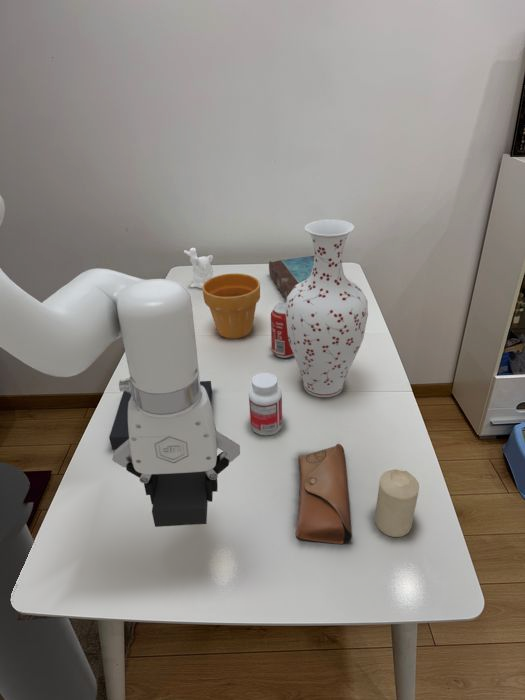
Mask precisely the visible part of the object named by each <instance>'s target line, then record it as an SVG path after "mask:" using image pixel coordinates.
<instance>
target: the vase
mask: <svg viewBox="0 0 525 700" xmlns="http://www.w3.org/2000/svg"><path fill="white" fill-rule="evenodd" d="M303 227H304V231H305V232H306V233H308V234H309V235H310V236H311V237H310V238H311V239H312V245H313V252H314V256H315V257H314V266H313V269H312V272H311V275H310V277H309V278H308V279H306V280H305V281H303V282H301V283H299V284H297V285H296V286H295V287H294V288H293V290H292V291H291V292H290V294H289V295H288V296H287V300H286V299H285V303H286V308H285V313H286V323H287V332H288V339H289V343H290V346H291V349H292V352H293V354H294V355H293V357H294V359H295V362H296V365H297V368H298V371H299V373H300V376H301V378H302V381H303V388H304V390H305V391H306V392H307V393H308V394H310V395H311V396H314V397H318V398H330V397H333V396H337V395H338V394H340V393H341V392H342V391H343V388H344V382H345V380H346V378H347V376H348V374H349V371H350V369H351V367H352V366H353V363H354V361H355V359H356V356H357V354H358V353H359V350H360V348H361V345H362V343H363V341H364V336H365V333H366V327H367V322H368V316H369V305H368V299H367V297H366V294H365V293H364V291H363V290H362V288H361V287H360V286H359V285H357V284H356V283H354V282H352V281H351V280H350V279H348V278H347V277H346V275H345V272H344V267H343V253H344V248H345V244H346V239H347V238H348V236H349V234H351V233H353V232H354V230H355V225H354V224H353V223H351V222H349V221H347V220H343V219H334V218H333V219H330V218H329V219H320V220H315V221H311V222H308V223H307V224H305V226H303Z"/></svg>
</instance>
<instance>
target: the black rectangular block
mask: <svg viewBox="0 0 525 700" xmlns="http://www.w3.org/2000/svg"><path fill="white" fill-rule="evenodd" d="M208 503H209V502H208V501H207V496H206V489H205V473H204V471H202V472H189V473H171V474H158V478H157V484H156V490H155V495H154V501H153V505H152V508H151V514H152V519H153V525H154V528H160V527H161V528H162V527H176V526H178V527H179V526H193V525H207V523H208V522H207V521H208V520H207V519H208Z"/></svg>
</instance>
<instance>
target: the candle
mask: <svg viewBox="0 0 525 700" xmlns="http://www.w3.org/2000/svg"><path fill="white" fill-rule="evenodd" d="M419 491H420V483H419V481H418V479H417V478H416V477H415V476H414V475H413V474H411V473H410V472H409V471H408V470H404V469H397V468H396V469H395V468H394V469H389V470H387V471H384V473H382V475H381V476H380V479H379V483H378V492H377V499H376V506H375V513H374V522H375V525H376V527H377V529H378V530H379V531H380V532H381V533H383V535H386V536H389V537H392V538H400V537H404V536H406V535H407V534H409V533H410V531H411V529H412V525H413V522H414V517H415V513H416V512H415V511H416V506H417V501H418V496H419Z"/></svg>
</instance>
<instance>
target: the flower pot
mask: <svg viewBox="0 0 525 700" xmlns="http://www.w3.org/2000/svg"><path fill="white" fill-rule="evenodd" d="M201 290H202V295H203V296H202V297H203V302H204V304H205V305H206V306H207V307H208V308H209V310H210V313H211V317H212V319H213V322H214V325H215V327H216V330H217V333H218V334H219V335H220V336H221V337H223V338H226V339H242V338H244V337H246V336H248V335H250V333H251V332H252V331H253V326H254V321H255V315H256V308H257V303H259V301H260V300H261V283H260V281H259V279H258V278H257V277H255V276H253V275H250V274H246V273H237V272H236V273H224V274H220V275H216V276H212V278H211V279H209V280H206V282H205V283H204V284H203V287H202V289H201Z"/></svg>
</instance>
